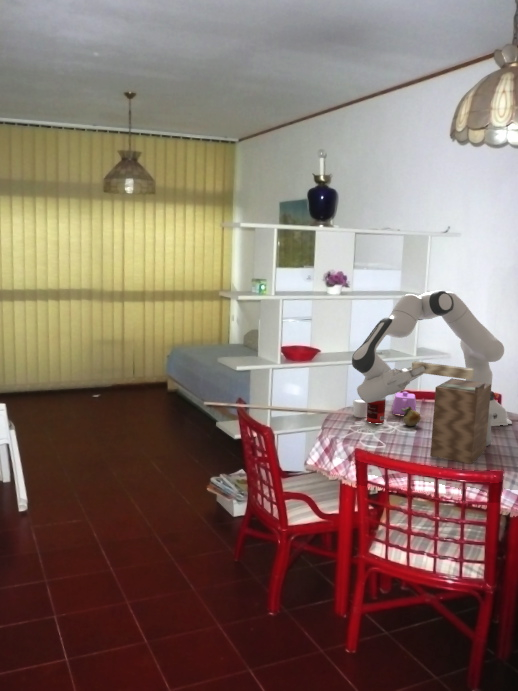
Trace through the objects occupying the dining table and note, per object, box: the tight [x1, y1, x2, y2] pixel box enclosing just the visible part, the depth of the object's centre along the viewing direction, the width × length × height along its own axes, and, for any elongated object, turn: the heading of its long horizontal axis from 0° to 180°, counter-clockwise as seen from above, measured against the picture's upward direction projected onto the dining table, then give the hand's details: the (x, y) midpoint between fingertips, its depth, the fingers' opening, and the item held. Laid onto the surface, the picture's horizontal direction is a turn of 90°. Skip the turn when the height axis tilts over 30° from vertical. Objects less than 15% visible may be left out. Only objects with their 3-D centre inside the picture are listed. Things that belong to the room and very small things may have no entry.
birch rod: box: [411, 360, 474, 380], centre depth 248 cm, size 22×4×4 cm, turn 58°
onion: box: [401, 407, 422, 427], centre depth 289 cm, size 8×8×8 cm
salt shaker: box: [486, 412, 493, 447], centre depth 265 cm, size 6×6×13 cm
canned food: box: [366, 397, 387, 424], centre depth 293 cm, size 8×8×11 cm
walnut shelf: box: [430, 377, 492, 465], centre depth 252 cm, size 15×20×28 cm
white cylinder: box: [352, 398, 367, 418], centre depth 302 cm, size 7×7×7 cm
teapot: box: [392, 391, 417, 415], centre depth 309 cm, size 18×10×10 cm, turn 167°
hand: (427, 367), depth 251 cm, fingers closed on birch rod, 3 cm apart
